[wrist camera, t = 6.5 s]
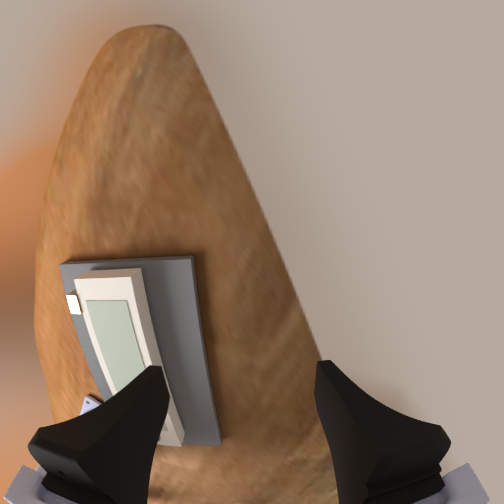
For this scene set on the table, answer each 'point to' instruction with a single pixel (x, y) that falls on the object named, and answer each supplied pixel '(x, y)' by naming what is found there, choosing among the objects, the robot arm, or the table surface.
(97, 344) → the frame
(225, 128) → the table surface
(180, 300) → the board
